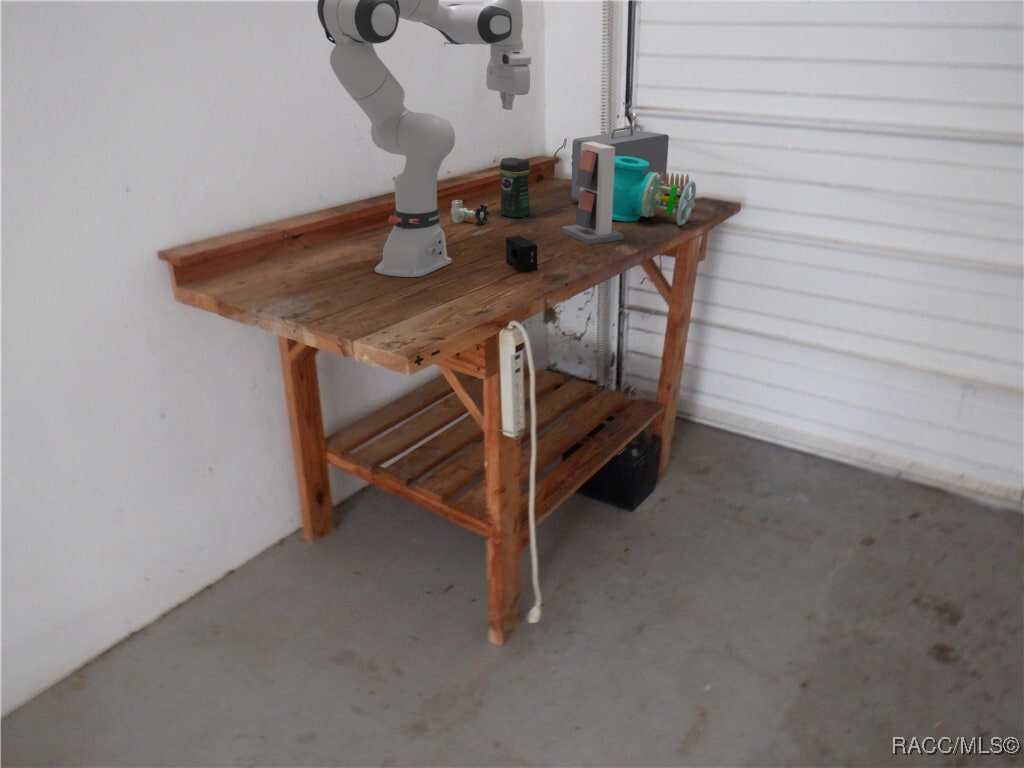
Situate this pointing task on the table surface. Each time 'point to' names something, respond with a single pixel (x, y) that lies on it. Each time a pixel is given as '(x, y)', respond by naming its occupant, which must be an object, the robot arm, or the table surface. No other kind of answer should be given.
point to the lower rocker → (584, 209)
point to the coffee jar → (514, 187)
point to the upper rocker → (586, 169)
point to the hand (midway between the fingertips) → (507, 109)
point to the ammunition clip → (672, 185)
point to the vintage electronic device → (626, 150)
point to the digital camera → (521, 253)
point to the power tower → (598, 198)
